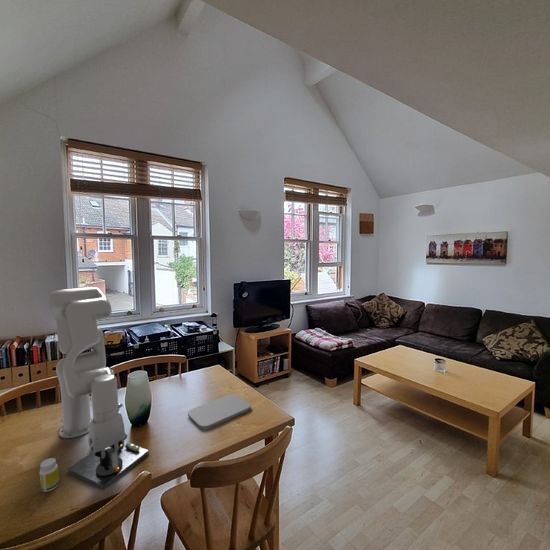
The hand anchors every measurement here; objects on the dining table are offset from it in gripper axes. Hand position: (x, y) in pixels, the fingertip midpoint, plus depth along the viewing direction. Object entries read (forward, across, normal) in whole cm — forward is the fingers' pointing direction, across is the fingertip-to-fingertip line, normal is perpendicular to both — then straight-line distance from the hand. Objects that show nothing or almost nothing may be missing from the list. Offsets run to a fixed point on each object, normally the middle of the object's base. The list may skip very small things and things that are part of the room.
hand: (109, 463), depth 103 cm
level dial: (+2, 0, 0) cm, 2 cm away
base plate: (+3, -2, -5) cm, 6 cm away
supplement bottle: (+3, +14, -9) cm, 17 cm away
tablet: (+4, -48, +2) cm, 48 cm away
